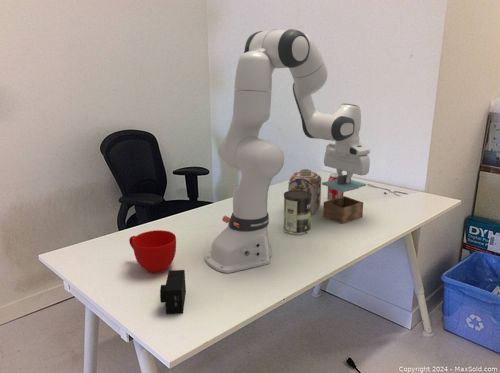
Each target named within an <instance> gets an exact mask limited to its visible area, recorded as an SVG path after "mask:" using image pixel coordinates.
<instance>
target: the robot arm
mask: <svg viewBox="0 0 500 373" xmlns="http://www.w3.org/2000/svg"><path fill="white" fill-rule="evenodd" d="M244 45H245V46H244V51H243V53H242V54H241V55H240V57H238V58H239V59H238V62H237V67H236V71H235V77H234V78H235V79H234V92H233V107H232V108H233V110H232V117H231V122H230V124H229V127H228V131H227V133H226V135H225V136H224V137H222V139H220V141H219V144H218V148H217V152H218V153H217V154H218V157H219V159H221V161H222V162H224V163H225V164H226V165H227V166H229V167H230V168H232V169H236V170H238V171H241V178H240V182H239V183H238V184H237V185H236V186H235V187H234V188H233V191H232V213H231V215H230V217H229V216H227V215H223V216H222V218H221V219H222V222H224V223H226V224H228V226H226V227H225V229H223V230H222V231H221V232H220V233H219V235H217V236H216V237H215V238H214V239H213V241H212V244H211V249H210V250H211V251H209V252H207V253H205V254H204V261H205V263H206V264H207V265H208V266H210V267H211V268H212V269H214V270H215V271H218V272H221V273H225V274H229V273H230V274H231V273H235V272H239V271H244V270H247V269H251V268H252V269H253V268H255V267H259V266H265V265H269V264H270V262H271V261H270V260H271V257H272V255H273V252H272V248H271V244H270V238H269V230H268V226H269V223H270V220H269V219H270V216H269V214H270V213H269V212H268V196H269V195H268V194H269V189H270V186H271V182H272V180H273V179H274V177H276V176H277V175H279V173H280V172H281V170H282V169H283V166H284V165H285V155H284V154H285V153H284V151H283V149H282V148H281V147H280V146H278V145H277V144H275V143H273V142H272V141H269V140H267V139H262V138H259V135H260V130H261V127H262V126H263V125H264V124H265V123H266V122H267V121H268V120H269V119H270V117H271V107H272V106H271V104H272V88H273V85H272V83H273V78H272V75H273V72H274V70H275V69H286V68H288V69H289V71H290V75H291V76H292V79H293V84H292V93H293V97H294V100H295V103H296V106H297V110H298V112H299V116H300V119H301V126H302V131H303V133H304V135H305V136H306V137H307V138H310V139H316V140H317V139H319V140H325V141H331V142H334V143H329V144H327V145H326V146H325V147H326V148H325V152H324V159H323V165H324V166H325V167H329V168H331V169H336V174H338V176H342V175H343V173H342V172H346V175H348V176H347V178H344V182H346V183H350V178H351V179H352V177H353V175H358V176H367V175H368V174H369V172H370V165H371V160H370V156H369V154H370V152H371V149H370V148H369V147H368V146H366V145H364V144H363V143H362V142H360V131H361V124H362V113H361V108H360V106H359V105H356V104H351V103H342V104H341V103H340V105H339V106H338V109H337V110H336V111H334V112H332V113H327V112H326V113H325V112H320V111H319V110H318V109H316V107H315V104H314V101H313V97H312V95H314V94H316V93H317V92H319V90H320V89H322V87H323V86H324V85H325V83H326V82H327V79H328V68H327V66H326V63H325V61H324V59H323V56H322V54H321V51H320V50H319V49H318V46H317V45H316V43H315V41H314V40H313V38H312V37H311V36H310V35H308V34H306V33H304V32H302V31H300V30H298V29H295V28H294V29H291V28H290V29H277V28H276V29H275V28H273V29H268V30H267V29H266V30H259V31H257V32H254V33H252V34H250V36H249V37H248V38H247V40H246V42H245V44H244Z"/></svg>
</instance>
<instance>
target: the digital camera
mask: <svg viewBox="0 0 500 373" xmlns="http://www.w3.org/2000/svg"><path fill="white" fill-rule="evenodd" d="M186 288H187V286H186V273H185V269H175V270H174V269H173V270H168V272H167V277H166V282H165V284H161V285H160V289H159V290H160V291H159V298H160V299H159V300H160V303H164V305H165V315H180V314H181V315H182V314H183V315H184V309H185V300H186V293H187V290H186Z"/></svg>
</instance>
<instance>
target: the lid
mask: <svg viewBox="0 0 500 373" xmlns="http://www.w3.org/2000/svg"><path fill="white" fill-rule="evenodd" d="M347 176H348V175H347V174H344V175H343V174H342V176H338V179H336V180H332V181H323V182H322V181H321V186H326V187H327V189H328V188H331V189H334V190H337V191H340V192H344V193H346V192H349V191H354V190H358V189H360V188H362V187H366V186H367V184H366V182H365V183H364V182H360V181H357V180H354V179H352V177H351V178H350V183H346V182H344V178H347Z"/></svg>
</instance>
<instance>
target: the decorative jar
mask: <svg viewBox="0 0 500 373" xmlns="http://www.w3.org/2000/svg"><path fill="white" fill-rule="evenodd" d="M287 189H288V190H287V191H291V190H303V191H307V192H310V193H311V194H312V197H311V216H315V215H316V214H317V212H318V210H319V209H320V208H321V203H322V202H321V199H322V198H321V196H322V177H321V175H320V174H318V173H316V172H314V171H312V170H311V169H308V168H302V169H300V170H299V171H298V172H293V173H292V174H291V175H290V178H289V181H288V188H287Z"/></svg>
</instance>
